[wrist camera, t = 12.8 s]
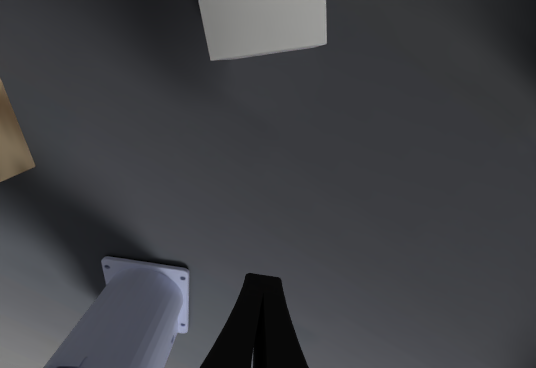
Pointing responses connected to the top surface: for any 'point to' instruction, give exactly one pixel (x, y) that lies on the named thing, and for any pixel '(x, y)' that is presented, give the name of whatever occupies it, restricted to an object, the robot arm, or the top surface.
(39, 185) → the top surface
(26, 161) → the oak block
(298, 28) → the grey block
